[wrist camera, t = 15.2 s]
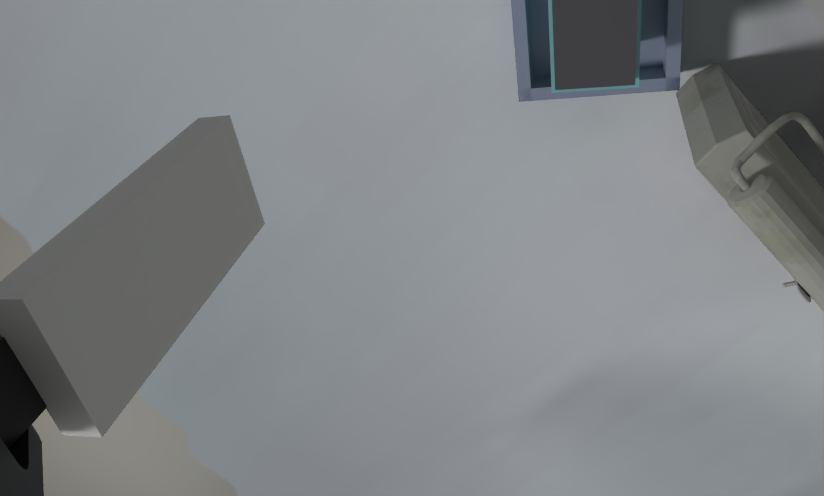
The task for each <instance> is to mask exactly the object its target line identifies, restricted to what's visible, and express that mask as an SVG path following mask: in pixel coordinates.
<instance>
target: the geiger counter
mask: <svg viewBox="0 0 824 496" xmlns="http://www.w3.org/2000/svg"><path fill="white" fill-rule="evenodd" d="M676 96H677V99H678V103H679V107H680V111H681V115H682V118H683V122H684V126H685V130H686V133H687V137H688V141H689V145H690V148H691V152H692V156H693V160H694V164H695V167H696V168H697V169H698V170H699V172H700V173H701V174H702V175H703V176H704V177H705V178H706V179H707V181H708V182H709V183H710V184H711V185H712V186H713V187H714V188H715V189H716V191H717V192H718V193H719V194H720V195H721V196H722V197H723V198H724V200H725V201H726V202H727V203H728V205H729V206H730V207H731V208H732V209H733V210H734V212H735V213H736V214H737V215H738V216H739V217H740V218H741V219H742V221H743V222H744V223H745V224H746V225H747V226H748V227H749V228H750V229H751V231H752V232H753V233H754V234H755V235H756V236H757V237H758V238H759V240H760V241H761V242H762V243H763V244H764V245H765V246H766V247H767V248H768V250H769V251H770V252H771V253H772V254H773V255H774V256H775V257H776V259H777V260H778V261H779V262H780V263H781V264H782V265H783V266H784V267H785V269H786V270H787V271H788V272H789V273H790V274H791V275H792V276H793V278H794V279H795V281H793V282H788V283H783V284H782V286H783V287H788V286H792V285H797V289H798V292H799V293H800V295H801V296H802V297H803V298H804V299H805V300H806V301H807V302H811V298H812V299H813V300H814V301H815V302H816V303H817V304H818V305H819V307H820V308H821V309H822V310H823V311H824V189H823V188H822V187H821V186H820V184H819V183H818V182H817V181H816V180H815V178H814V177H813V176H812V175H811V174H810V172H809V171H808V170H807V169H806V168H805V166H804V165H803V164H802V163H801V162H800V161H799V159H798V158H797V157H796V156H795V155H794V153H793V152H792V151H791V150H790V149H789V147H788V146H787V145H786V144H785V143H784V141H783V140H782V139H781V138H780V137H779V135H778V134H777V133H776V131H777V130H778V129H780V128H781V127H782V126H783V125H785V124H786V123H787V122H789V121H791V120H794V121H797V122H798V123H800V124H801V125H802V126H803V128H804V129H805V130H806V131H807V133H808V134H809V136H810V137H811V138H812V140H813V141H814V143H815V144H816V146H817V147H818V149H819V150H820V152H821V154H822V155H823V157H824V139H823V137H822V136H821V135H820V133H819V132H818V130H817V129H816V127H815V126H814V125H813V123H812V122H811V121H810V120H809V119H808V118H807V117H806V116H805V115H803V114H801V113H800V112H788V113H786V114H784V115H782V116H780V117H779V118H778V119H776V120H775V121H774V122H772V123H771V124H770V125H769V124H768V122H767V121H766V120H765V119H764V118H763V116H762V115H761V114H760V113H759V112H758V110H757V109H756V108H755V107H754V106H753V104H752V103H751V102H750V101H749V100H748V98H747V97H746V96H745V95H744V94H743V92H742V91H741V90H740V89H739V88H738V87H737V85H736V84H735V83H734V82H733V81H732V79H731V78H730V77H729V76H728V75H727V73H726V72H725V71H724V70H723V69H722V67H721V66H720V65H719V64H718V63H715V64H714V65H712V66H710V67H708V68H706V69H704V70H702V71H700V72H698V73H696V74H694V75H693V76H692V77H691V78H690V79H689V80H688V81H687V82H686V83H685V84H684V85H683V86H682V87H681V88H680V89H679V90H678V91H677V93H676ZM810 297H811V298H810Z"/></svg>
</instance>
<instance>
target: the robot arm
mask: <svg viewBox="0 0 824 496" xmlns="http://www.w3.org/2000/svg"><path fill="white" fill-rule="evenodd" d="M264 224H265V223H264V220H263V217H262V214H261V211H260V208H259V205H258V201H257V198H256V195H255V192H254V189H253V186H252V183H251V180H250V177H249V174H248V170H247V167H246V164H245V161H244V158H243V155H242V152H241V149H240V146H239V143H238V140H237V136H236V133H235V130H234V127H233V124H232V121H231V118H230V115H229V116H217V117H205V118H198V119H197V120H196V121H195V122H193V123H192V124H191V125H190V126H189V127H187V128H186V129H185V130H184V131H183V132H181V133H180V134H179V135H178V136H176V137H175V138H174V139H173V140H172V141H170V142H169V143H168V144H167V145H166V146H164V147H163V148H162V149H161V150H159V151H158V152H157V153H156V154H155V155H153V156H152V157H151V158H150V159H149V160H147V161H146V162H145V163H144V164H142V165H141V166H140V167H139V168H138V169H136V170H135V171H134V172H133V173H132V174H130V175H129V176H128V177H127V178H125V179H124V180H123V181H122V182H121V183H119V184H118V185H117V186H116V187H114V188H113V189H112V190H111V191H110V192H108V193H107V194H106V195H105V196H104V197H102V198H101V199H100V200H99V201H97V202H96V203H95V204H94V205H93V206H91V207H90V208H89V209H88V210H87V211H85V212H84V213H83V214H82V215H80V216H79V217H78V218H77V219H76V220H74V221H73V222H72V223H71V224H70V225H68V226H67V227H66V228H65V229H63V230H62V231H61V232H60V233H59V234H57V235H56V236H55V237H54V238H53V239H51V240H50V241H49V242H48V243H46V244H45V245H44V246H43V247H42V248H40V249H39V250H38V251H37V252H36V253H34V254H33V255H32V256H31V257H30V258H28V259H27V260H26V261H25V262H23V263H22V264H21V265H20V266H18V267H17V268H16V269H15V270H14V271H12V272H11V273H10V274H9V275H8V276H6V277H5V278H4V279H3V280H2V281H0V496H44V493H43V467H42V466H43V465H42V442H41V440H40V438H39V435H38V433H37V432H36V430H35V429H34V427H33V426H32V423H33V422H34V421H35V420H36V419H37V418H38V416H39V415H40V414H41V413H42V412H43V411H44V410H45V409H47V411H48V412H49V413H50V415H51V417H52V418H53V420H54V422H55V423H56V425H57V427H58V428H59V430H60V431H61V433H62V434H63V435H73V436H88V437H103V436H104V434H105V433H106V431H107V430H108V429H109V428H110V426H111V425H112V424H113V422H114V421H115V420H116V418H117V417H118V416H119V415H120V413H121V412H122V410H123V409H124V408H125V407H126V405H127V404H128V403H129V401H130V400H131V399H132V397H133V396H134V395H135V393H136V392H137V391H138V390H139V388H140V387H141V386H142V384H143V383H144V382H145V380H146V379H147V378H148V376H149V375H150V374H151V372H152V371H153V370H154V369H155V367H156V366H157V365H158V363H159V362H160V361H161V359H162V358H163V357H164V355H165V354H166V353H167V351H168V350H169V349H170V348H171V346H172V345H173V344H174V342H175V341H176V340H177V338H178V337H179V336H180V334H181V333H182V332H183V330H184V329H185V328H186V326H187V325H188V324H189V323H190V321H191V320H192V319H193V317H194V316H195V315H196V313H197V312H198V311H199V309H200V308H201V307H202V305H203V304H204V303H205V302H206V300H207V299H208V298H209V296H210V295H211V294H212V292H213V291H214V290H215V288H216V287H217V286H218V284H219V283H220V282H221V281H222V279H223V278H224V277H225V275H226V274H227V273H228V271H229V270H230V269H231V267H232V266H233V265H234V263H235V262H236V261H237V259H238V258H239V257H240V256H241V254H242V253H243V252H244V250H245V249H246V248H247V246H248V245H249V244H250V242H251V241H252V240H253V238H254V237H255V236H256V235H257V233H258V232H259V231H260V229H261V228H262V227H263V225H264Z"/></svg>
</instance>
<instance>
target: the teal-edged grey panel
mask: <svg viewBox="0 0 824 496" xmlns="http://www.w3.org/2000/svg"><path fill="white" fill-rule="evenodd" d="M641 6H642V0H548V14H549V40H550V65H551V91H552V93H560V92H575V91H591V90H607V89H623V88H639V72H640V39H641Z"/></svg>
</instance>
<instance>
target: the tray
mask: <svg viewBox="0 0 824 496" xmlns="http://www.w3.org/2000/svg"><path fill="white" fill-rule="evenodd" d="M683 3H684V0H642V6H641V39H640V72H639V88H623V89H607V90H591V91H575V92H560V93H552V91H551V65H550V40H549V14H548V0H511V6H512V18H513V31H514V44H515V56H516V69H517V82H518V94H519V102H521V101H534V100H548V99H562V98H575V97H589V96H602V95H616V94H630V93H643V92H657V91H671V90H679V86H680V66H681V45H682V24H683Z"/></svg>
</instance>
